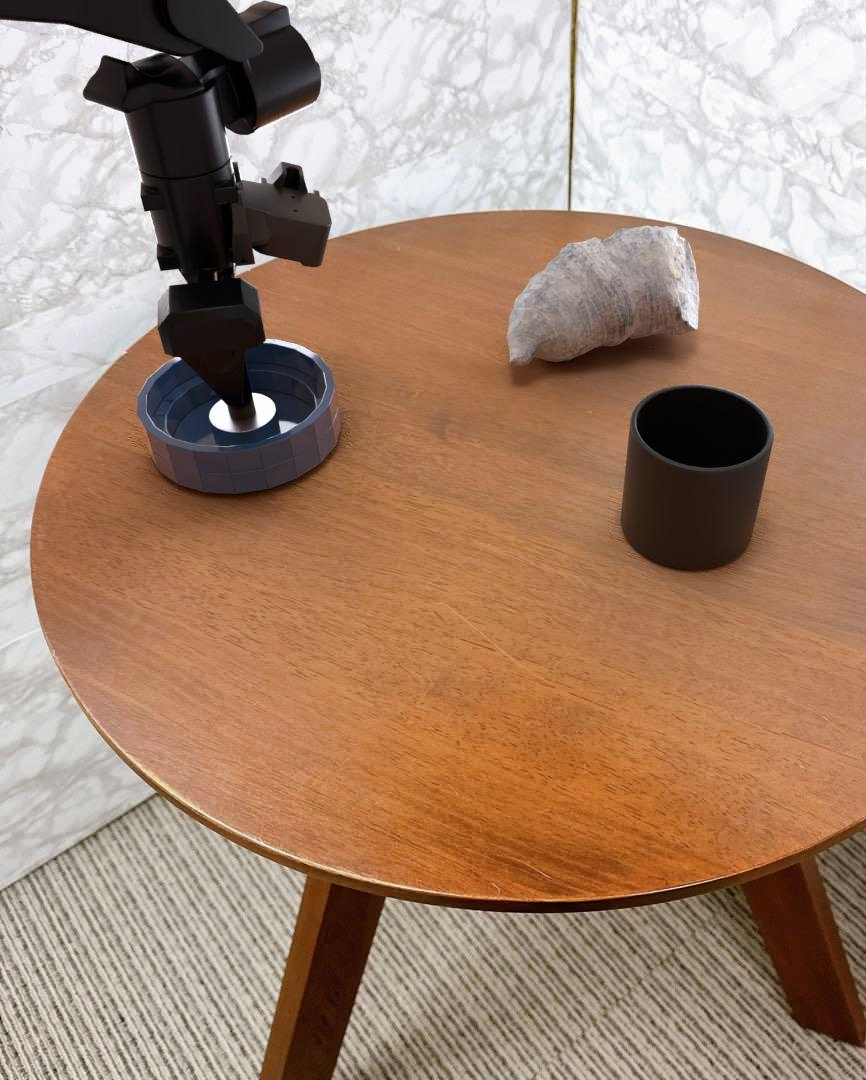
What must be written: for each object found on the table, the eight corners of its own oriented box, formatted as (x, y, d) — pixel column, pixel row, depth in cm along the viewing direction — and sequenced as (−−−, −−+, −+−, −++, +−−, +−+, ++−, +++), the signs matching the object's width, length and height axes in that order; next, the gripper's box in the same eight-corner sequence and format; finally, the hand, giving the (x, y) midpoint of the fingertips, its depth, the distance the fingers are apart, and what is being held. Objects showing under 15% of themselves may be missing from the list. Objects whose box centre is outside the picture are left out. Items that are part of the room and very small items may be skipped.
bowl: (151, 513, 73) (134, 465, 70) (152, 397, 83) (138, 350, 80) (352, 482, 76) (345, 435, 73) (330, 374, 86) (323, 328, 83)
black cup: (804, 522, 74) (832, 422, 67) (680, 592, 68) (697, 490, 62) (715, 454, 79) (732, 356, 73) (593, 514, 74) (601, 413, 68)
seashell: (502, 387, 85) (501, 279, 78) (523, 296, 95) (524, 194, 89) (696, 402, 84) (712, 294, 77) (695, 308, 94) (710, 206, 88)
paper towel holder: (215, 457, 77) (182, 331, 69) (213, 418, 80) (181, 294, 73) (282, 447, 78) (257, 322, 70) (277, 409, 81) (253, 286, 74)
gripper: (329, 213, 59) (358, 427, 70) (300, 94, 72) (328, 290, 83) (129, 234, 57) (191, 451, 68) (135, 107, 70) (186, 306, 81)
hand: (232, 367), depth 75 cm, fingers open, 9 cm apart
